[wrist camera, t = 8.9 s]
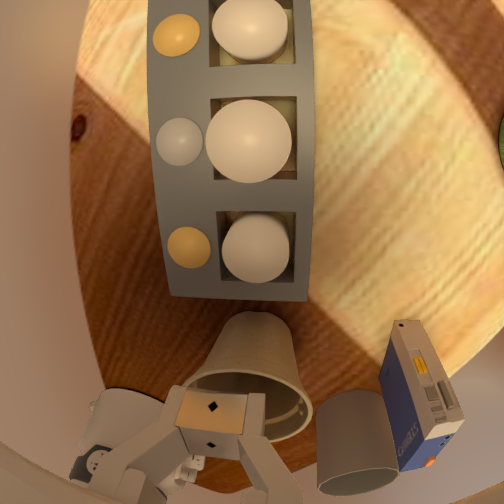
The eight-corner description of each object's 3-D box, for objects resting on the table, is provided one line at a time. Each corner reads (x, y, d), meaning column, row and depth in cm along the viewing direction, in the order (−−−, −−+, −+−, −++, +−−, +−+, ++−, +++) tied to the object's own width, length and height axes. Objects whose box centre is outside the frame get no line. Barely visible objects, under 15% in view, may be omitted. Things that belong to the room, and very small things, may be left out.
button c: (288, 65, 17) (288, 54, 14) (224, 67, 17) (212, 57, 14) (285, 11, 15) (285, -8, 12) (223, 14, 15) (211, -3, 12)
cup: (343, 382, 28) (353, 464, 19) (398, 397, 29) (415, 468, 20) (302, 421, 32) (302, 493, 23) (355, 432, 33) (362, 497, 24)
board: (305, 280, 24) (307, 303, 21) (182, 276, 25) (169, 297, 22) (305, -8, 14) (307, -27, 11) (165, 4, 15) (147, -10, 12)
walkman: (401, 375, 27) (428, 469, 16) (378, 377, 28) (399, 475, 17) (421, 317, 24) (469, 420, 13) (394, 319, 24) (436, 429, 14)
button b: (290, 171, 18) (291, 183, 15) (221, 172, 18) (207, 183, 15) (289, 103, 16) (291, 98, 13) (218, 104, 16) (203, 102, 13)
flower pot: (193, 350, 28) (168, 420, 20) (223, 275, 24) (196, 349, 16) (281, 381, 29) (276, 452, 21) (327, 315, 25) (339, 394, 17)
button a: (288, 260, 23) (288, 284, 19) (232, 259, 23) (224, 282, 20) (289, 206, 21) (290, 222, 18) (229, 205, 21) (219, 221, 18)
